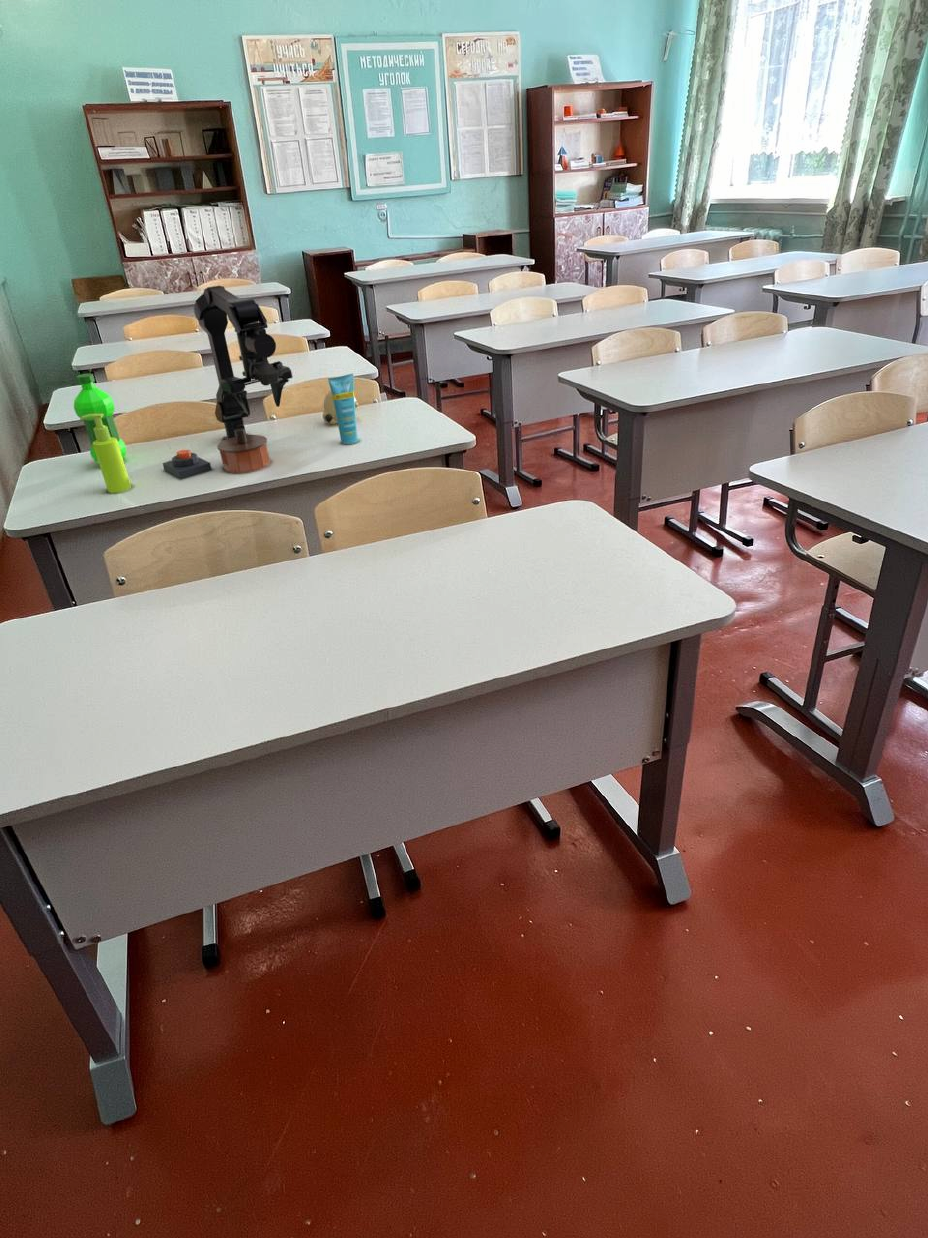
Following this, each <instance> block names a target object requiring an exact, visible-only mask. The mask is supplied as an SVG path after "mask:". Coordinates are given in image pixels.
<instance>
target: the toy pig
mask: <svg viewBox="0 0 928 1238" xmlns="http://www.w3.org/2000/svg"><path fill="white" fill-rule="evenodd" d="M354 401H355V412H356V411H357V408H358V407H359V403H358V401H357V399H356V397H355V396H354ZM322 418H323V420H324V422H326V424H328V425H333V426H334V425H338V421H337V416H336V411H335V406H334V401H333V397H332V392H331V389H330V390H329V391H328V392H327V393H326V394H325V397H324V399H323V411H322Z"/></svg>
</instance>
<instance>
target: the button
mask: <svg viewBox="0 0 928 1238" xmlns="http://www.w3.org/2000/svg"><path fill="white" fill-rule="evenodd" d="M191 453H192V452H191V450H190V449H181V450H178V451H176V455H177V457H178V459H187V458H190V457H191Z"/></svg>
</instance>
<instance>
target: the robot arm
mask: <svg viewBox="0 0 928 1238" xmlns="http://www.w3.org/2000/svg"><path fill="white" fill-rule="evenodd" d="M193 313H194V316H195V318H196V320H197V322H198V325H199V326H200V328H201V329H202V330H203V331H204V332H205V333H206V334H207V338H208V342H209V347H210V351H211V356H212V360H213V364H214V368H215V372H216V378H217V381H218V389H217V391H216V395H215V398H216V404H215V409H214V410H215V411H214V416H215V418H216V420H217V421H218V422H220V423H221V424H224V429H225V432H226V433H225V434H226V435H224V436H222V439H223V440H226V439H229V438H233V437H236V435H235V430H236V429H240V428H243V429H244V430H245V435H249V433H247V432H246V427H245V422H244V418H249V416H251V411H250V406H249V401H248V398H247V394H248V391H247V390H245V389H246V386H248V385H252V384H256V383H259V382H260V384H261V385H262V386H264V387H265V386H269V385H270V388H271V392H272V393H271V394H272V396H273V401H274V404H275V406H276V407H277V408H279V407H280V405H281V399H282V394H283V390H284V386H285V385H286V384H287V383H289V381H290V379H292V378H293V371H292V369H291V368H290V367H289V366H286V365H284V364H283V362H282V361H281V360H278V361H274V362H271V363H270V362H269V360H268V358H270V357H272V356H273V355H274V354H275V352H276V349H277V343H276V341H275V339H274V337H273V336H271V335H270V334H268V333H267V331H266V329H268V327H269V326H268V324H267V322H268V320H267V317H266V316H265V315H264V312H263V310H262V309H261V307H260V306H259V304H258V302H256V301H255V299H253V298H249V297H238V296H237V295H235V294H234V293H231V292H230V291H229V290H227V289H226V288H225V287H224V285H213V286H207V287H206V288H204V289H203V293H202V294H201V295H200V296H199V297H198V298H197V299H195V302H194V307H193ZM229 322H230V323H231V326H232V327H233V328H234V332H235V333H236V338H237V342H238V347H239V351H240V355H238V359H239V361H241V362H242V367H243V371H242V376H243V377H242V378H240V377H238V376H235V375H234V370H233V366H232V360H231V356H230V352H229V347H228V343H227V339H226V330H227V328H228V324H229Z"/></svg>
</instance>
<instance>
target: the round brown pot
mask: <svg viewBox="0 0 928 1238" xmlns="http://www.w3.org/2000/svg"><path fill="white" fill-rule="evenodd" d="M219 453H220V458H221V462H222V463H221V464H222V467H223V469H224V470H225V471H226V472H227V473H232V474H246V473H252V472H256V471H257V472H258V471H260V470H262V469H264V468H267V466H269V465H270V464H271V461H270V455H269V454H270V453H269V449H268V444H267V443H266V444H265V445H264V446H262V447H260V448H257V449H254V450H250V451H246V452H238V453H227V452H222V451H220V450H219Z"/></svg>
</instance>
